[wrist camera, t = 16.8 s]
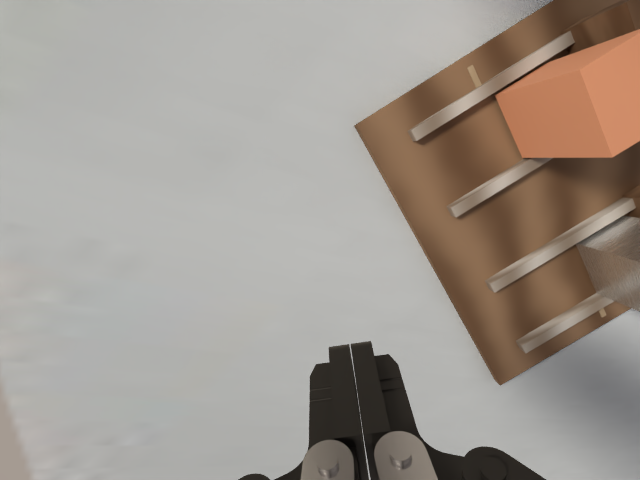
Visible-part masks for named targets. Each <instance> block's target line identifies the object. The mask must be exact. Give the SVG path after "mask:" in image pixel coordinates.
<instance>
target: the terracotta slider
mask: <svg viewBox="0 0 640 480" xmlns="http://www.w3.org/2000/svg"><path fill="white" fill-rule="evenodd" d="M495 97H496V99H497V101H498V104H499V106H500V108H501V111H502V113H503V115H504V117H505V120H506V122H507V124H508V126H509V129H510V131H511V133H512V136H513V138H514V140H515V142H516V145H517V147H518V149H519V151H520V154H521V156H522V158H612V157H614V156H616V155H617V154H619V153H621V152H622V151H624V150H626V149H627V148H629V147H631V146H632V145H634V144H636V143H637V142H639V141H640V29H639V30H636V31H633V32H630V33H628V34H625V35H622V36H619V37H617V38H614V39H611V40H608V41H606V42H603V43H600V44H597V45H595V46H592V47H589V48H586V49H584V50H581V51H578V52H575V53H573V54H570V55H567V56H564V57H562V58H559V59H556V60H553V61H551V62H548V63H546V64H544V65H543V66H541V67H539V68H538V69H536V70H535V71H533V72H531V73H530V74H528V75H527V76H525V77H523V78H522V79H520V80H519V81H517V82H515V83H514V84H512V85H510V86H509V87H507V88H506V89H504V90H502V91H501V92H499V93H498V94H496V95H495Z"/></svg>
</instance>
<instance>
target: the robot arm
mask: <svg viewBox="0 0 640 480" xmlns="http://www.w3.org/2000/svg"><path fill="white" fill-rule="evenodd" d="M351 349H352V356H353V364H354V371H355V377H354V371H353V365H352V359H351V353H350V347H349V344H348V345H340V346H333V347H329V360H330V363H322V364H316V366H315V368H314V369H313V371H312V373H311V375H310V412H309V447H308V451H307V453H306V455H305V457H304V459H303V461H302V462H301V463H300V464H299V465H298V466H297V467H296V468H295V469H294V470H292V471H291V472H289V473H287V474H285V475H283V476H281V477H279V478H277V479H275V480H369V477H368V470H367V463H366V456H365V448H364V441H365V447H366V453H367V459H368V465H369V471H370V477H371V480H546V479H544V478H543V477H541V476H540V475H538V474H537V473H535V472H534V471H532V470H531V469H529V468H528V467H526V466H525V465H523V464H522V463H520V462H518V461H517V460H515V459H514V458H512V457H511V456H509V455H508V454H506V453H505V452H503V451H501V450H498V449H496V448H492V447H477V448H474V449H472V450H471V451H469V452H468V453H467V454H466V455H465V457H462V456H457V455H452V454H447V453H443V452H440V451H438V450H436V449H434V448H432V447H431V446H429V445H428V444H427V443H426V442H425V441H424V440H423V439H422V438H421V436H420V435H419V433H418V430H417V427H416V424H415V421H414V417H413V414H412V410H411V407H410V404H409V400H408V397H407V394H406V390H405V387H404V383H403V380H402V377H401V373H400V370H399V366H398V364H397V363H396V362H395V361H394V360H393V358H392V357H391V356H390V355H389V354H387V355H379V356H374V353H373V348H372V344H371V341H368V342H361V343H354V344H351ZM355 378H356V383H355ZM356 385H357V390H356ZM357 392H358V397H357ZM358 400H359V404H358ZM359 407H360V412H359ZM360 414H361V419H360ZM361 421H362V426H361ZM362 428H363V434H362ZM363 435H364V441H363ZM239 480H270V479H269V478H268V477H266V476H264V475H261V474H250V475H246V476H244V477H242V478H240V479H239Z"/></svg>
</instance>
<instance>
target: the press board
mask: <svg viewBox="0 0 640 480" xmlns="http://www.w3.org/2000/svg"><path fill="white" fill-rule="evenodd" d="M639 29H640V0H553V1H552V2H550V3H548V4H547V5H545V6H544V7H542V8H540V9H539V10H537V11H536V12H534V13H533V14H531V15H529V16H528V17H526V18H525V19H523V20H521V21H520V22H518V23H517V24H515V25H513V26H512V27H510V28H509V29H507V30H506V31H504V32H502V33H501V34H499V35H498V36H496V37H494V38H493V39H491V40H490V41H488V42H486V43H485V44H483V45H482V46H480V47H479V48H477V49H475V50H474V51H472V52H471V53H469V54H467V55H466V56H464V57H463V58H461V59H459V60H458V61H456V62H455V63H453V64H452V65H450V66H448V67H447V68H445V69H444V70H442V71H440V72H439V73H437V74H436V75H434V76H432V77H431V78H429V79H428V80H426V81H425V82H423V83H421V84H420V85H418V86H417V87H415V88H413V89H412V90H410V91H409V92H407V93H405V94H404V95H402V96H401V97H399V98H397V99H396V100H394V101H393V102H391V103H390V104H388V105H386V106H385V107H383V108H382V109H380V110H378V111H377V112H375V113H374V114H372V115H370V116H369V117H367V118H366V119H364V120H363V121H361V122H359V123H358V124H356V125H355V128H356V130H357V132H358V133H359V135H360V137H361V139H362V141H363V142H364V144H365V146H366V148H367V150H368V152H369V153H370V155H371V157H372V159H373V161H374V162H375V164H376V166H377V168H378V170H379V171H380V173H381V175H382V177H383V179H384V180H385V182H386V184H387V186H388V188H389V189H390V191H391V193H392V195H393V197H394V199H395V200H396V202H397V204H398V206H399V208H400V209H401V211H402V213H403V215H404V217H405V218H406V220H407V222H408V224H409V226H410V227H411V229H412V231H413V233H414V235H415V236H416V238H417V240H418V242H419V244H420V246H421V247H422V249H423V251H424V253H425V255H426V256H427V258H428V260H429V262H430V264H431V265H432V267H433V269H434V271H435V273H436V274H437V276H438V278H439V280H440V282H441V283H442V285H443V287H444V289H445V291H446V293H447V294H448V296H449V298H450V300H451V302H452V303H453V305H454V307H455V309H456V311H457V312H458V314H459V316H460V318H461V320H462V321H463V323H464V325H465V327H466V329H467V330H468V332H469V334H470V336H471V338H472V340H473V341H474V343H475V345H476V347H477V349H478V350H479V352H480V354H481V356H482V358H483V359H484V361H485V363H486V365H487V367H488V368H489V370H490V372H491V374H492V376H493V377H494V379H495V381H496V382H497V383H498V384H499V385H502V384H503V383H505V382H507V381H509V380H510V379H512V378H514V377H515V376H517V375H519V374H520V373H522V372H524V371H526V370H527V369H529V368H531V367H532V366H534V365H536V364H537V363H539V362H541V361H542V360H544V359H546V358H548V357H549V356H551V355H553V354H554V353H556V352H558V351H559V350H561V349H563V348H565V347H566V346H568V345H570V344H571V343H573V342H575V341H576V340H578V339H580V338H581V337H583V336H585V335H587V334H588V333H590V332H592V331H593V330H595V329H597V328H598V327H600V326H602V325H603V324H605V323H607V322H609V321H610V320H612V319H614V318H615V317H617V316H619V315H620V314H622V313H624V312H626V311H627V310H629V309H631V308H630V307H628V306H625V305H623V304H621V303H618V302H616V301H614V300H611V299H609V298H607V297H604V296H602V295H600V294H597V293H596V290H595V288H594V286H593V283H592V281H591V279H590V276H589V274H588V272H587V269H586V267H585V265H584V262H583V260H582V258H581V255H580V253H579V251H578V248H577V246H576V244H577V243H578V242H580V241H582V240H583V239H585V238H587V237H588V236H590V235H592V234H593V233H595V232H597V231H598V230H600V229H602V228H603V227H605V226H607V225H608V224H610V223H612V222H613V221H615V220H617V219H618V218H620V217H622V216H623V215H624V216H630V217H636V218H640V141H639V142H637V143H636V144H634V145H632V146H631V147H629V148H627V149H626V150H624V151H622V152H621V153H619V154H617V155H616V156H614V157H612V158H522V156H521V154H520V151H519V149H518V147H517V145H516V142H515V140H514V138H513V136H512V133H511V131H510V129H509V126H508V124H507V122H506V120H505V117H504V115H503V113H502V111H501V108H500V106H499V104H498V101H497V99H496V97H495V95H496V94H498V93H499V92H501V91H502V90H504V89H506V88H507V87H509V86H510V85H512V84H514V83H515V82H517V81H519V80H520V79H522V78H523V77H525V76H527V75H528V74H530V73H531V72H533V71H535V70H536V69H538V68H539V67H541V66H543V65H544V64H546V63H548V62H551V61H553V60H556V59H559V58H562V57H564V56H567V55H570V54H573V53H575V52H578V51H581V50H584V49H586V48H589V47H592V46H595V45H597V44H600V43H603V42H606V41H608V40H611V39H614V38H617V37H619V36H622V35H625V34H628V33H630V32H633V31H636V30H639Z"/></svg>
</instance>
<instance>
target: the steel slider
mask: <svg viewBox="0 0 640 480" xmlns="http://www.w3.org/2000/svg"><path fill="white" fill-rule="evenodd" d="M576 246H577V248H578V251H579V253H580V255H581V258H582V260H583V262H584V265H585V267H586V269H587V272H588V274H589V276H590V279H591V281H592V283H593V286H594V288H595V290H596V293H597V294H600V295H602V296H604V297H607V298H609V299H611V300H614V301H616V302H618V303H621V304H623V305H625V306H628V307H630V308H632V309H635V310H637V311H639V312H640V218H636V217H630V216H624V215H623V216H622V217H620V218H618V219H617V220H615V221H613V222H612V223H610V224H608V225H607V226H605V227H603V228H602V229H600V230H598V231H597V232H595V233H593V234H592V235H590V236H588V237H587V238H585V239H583V240H582V241H580V242H578V243H577V244H576Z"/></svg>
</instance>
